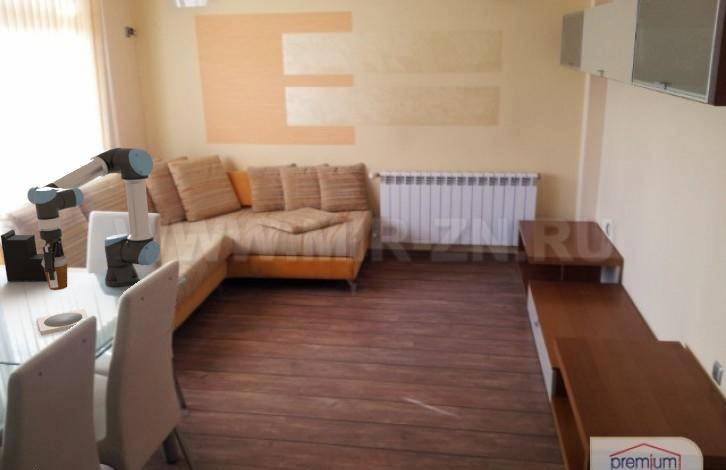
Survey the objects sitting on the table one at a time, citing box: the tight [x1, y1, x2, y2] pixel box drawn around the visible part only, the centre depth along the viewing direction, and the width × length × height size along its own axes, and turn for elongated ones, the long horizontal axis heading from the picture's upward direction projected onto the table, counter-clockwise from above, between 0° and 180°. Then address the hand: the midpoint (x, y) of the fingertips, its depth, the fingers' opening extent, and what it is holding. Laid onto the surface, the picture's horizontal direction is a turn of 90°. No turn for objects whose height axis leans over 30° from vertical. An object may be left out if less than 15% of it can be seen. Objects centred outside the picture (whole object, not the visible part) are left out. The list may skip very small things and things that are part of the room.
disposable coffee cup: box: [41, 255, 69, 291], centre depth 236 cm, size 10×10×12 cm
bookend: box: [0, 229, 48, 282], centre depth 291 cm, size 23×11×24 cm, turn 93°
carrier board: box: [35, 308, 89, 335], centre depth 242 cm, size 18×15×2 cm
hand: (58, 283), depth 237 cm, fingers closed on disposable coffee cup, 8 cm apart
